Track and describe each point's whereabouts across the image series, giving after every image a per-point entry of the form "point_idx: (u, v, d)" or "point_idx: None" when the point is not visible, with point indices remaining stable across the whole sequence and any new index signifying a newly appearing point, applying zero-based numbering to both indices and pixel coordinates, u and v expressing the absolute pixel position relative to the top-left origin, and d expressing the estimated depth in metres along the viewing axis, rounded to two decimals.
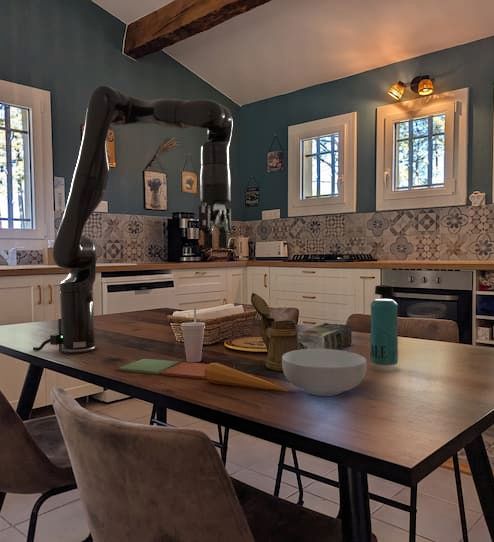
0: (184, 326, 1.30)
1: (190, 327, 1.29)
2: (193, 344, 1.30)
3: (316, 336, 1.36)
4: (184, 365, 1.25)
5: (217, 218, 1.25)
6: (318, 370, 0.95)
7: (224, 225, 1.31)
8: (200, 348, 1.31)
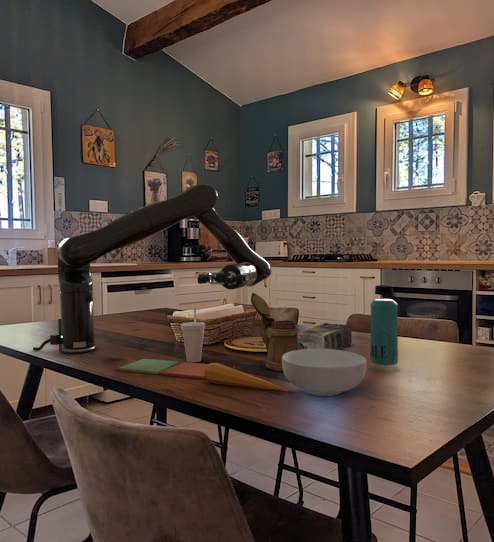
0: (184, 326, 1.30)
1: (190, 327, 1.29)
2: (193, 344, 1.30)
3: (316, 336, 1.36)
4: (184, 365, 1.25)
5: None
6: (318, 370, 0.95)
7: (212, 282, 1.49)
8: (200, 348, 1.31)
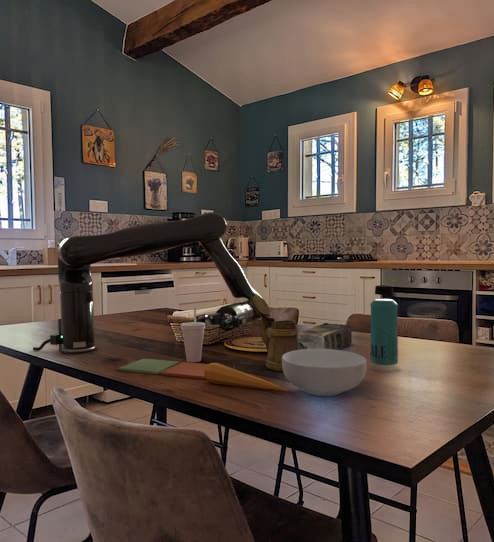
0: (184, 326, 1.30)
1: (190, 327, 1.29)
2: (193, 344, 1.30)
3: (316, 336, 1.36)
4: (184, 365, 1.25)
5: None
6: (318, 370, 0.95)
7: (208, 324, 1.47)
8: (200, 348, 1.31)
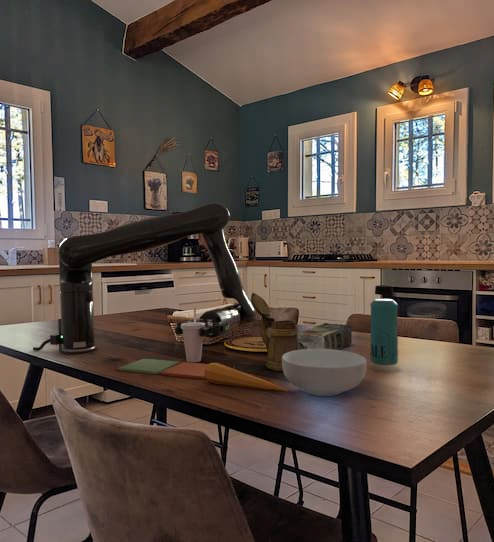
0: (184, 326, 1.30)
1: (190, 327, 1.29)
2: (193, 344, 1.30)
3: (316, 336, 1.36)
4: (184, 365, 1.25)
5: None
6: (318, 370, 0.95)
7: None
8: (200, 348, 1.31)
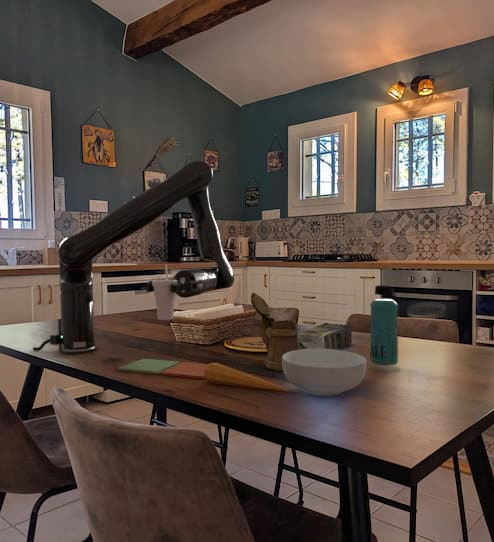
0: (155, 282, 1.26)
1: (161, 283, 1.25)
2: (164, 301, 1.26)
3: (316, 336, 1.36)
4: (184, 365, 1.25)
5: None
6: (318, 370, 0.95)
7: None
8: (172, 305, 1.27)
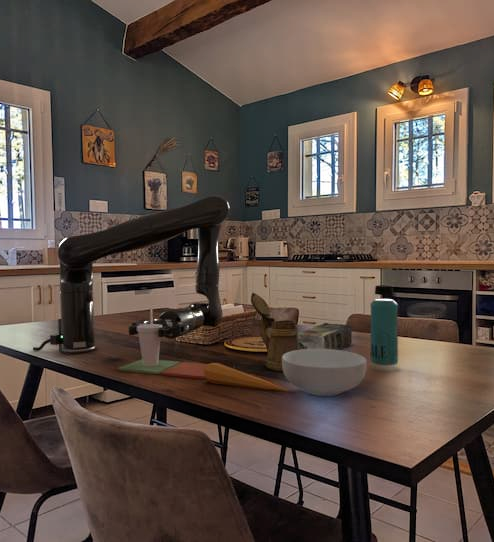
0: (139, 328, 1.24)
1: (145, 329, 1.23)
2: (149, 347, 1.24)
3: (316, 336, 1.36)
4: (184, 365, 1.25)
5: None
6: (318, 370, 0.95)
7: None
8: (157, 351, 1.25)
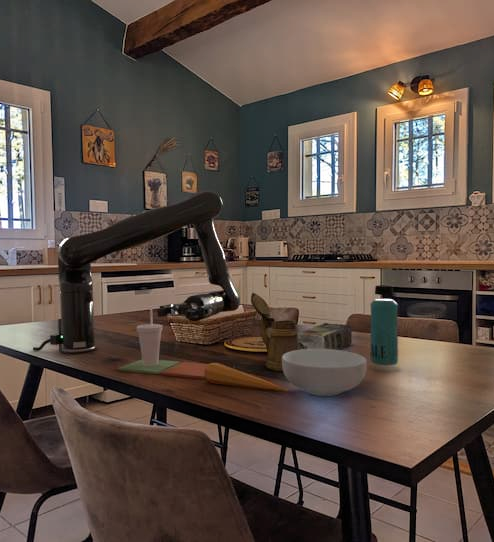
0: (139, 328, 1.24)
1: (145, 329, 1.23)
2: (149, 347, 1.24)
3: (316, 336, 1.36)
4: (184, 365, 1.25)
5: None
6: (318, 370, 0.95)
7: (174, 314, 1.43)
8: (157, 351, 1.25)
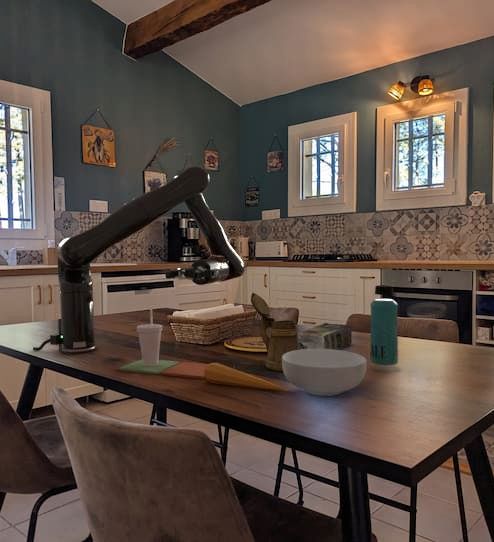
0: (139, 328, 1.24)
1: (145, 329, 1.23)
2: (149, 347, 1.24)
3: (316, 336, 1.36)
4: (184, 365, 1.25)
5: None
6: (318, 370, 0.95)
7: (181, 277, 1.47)
8: (157, 351, 1.25)
